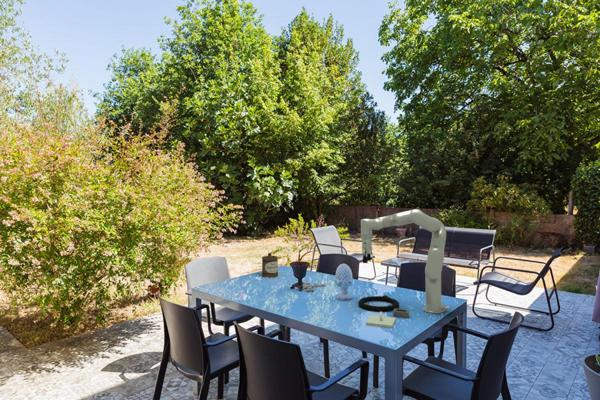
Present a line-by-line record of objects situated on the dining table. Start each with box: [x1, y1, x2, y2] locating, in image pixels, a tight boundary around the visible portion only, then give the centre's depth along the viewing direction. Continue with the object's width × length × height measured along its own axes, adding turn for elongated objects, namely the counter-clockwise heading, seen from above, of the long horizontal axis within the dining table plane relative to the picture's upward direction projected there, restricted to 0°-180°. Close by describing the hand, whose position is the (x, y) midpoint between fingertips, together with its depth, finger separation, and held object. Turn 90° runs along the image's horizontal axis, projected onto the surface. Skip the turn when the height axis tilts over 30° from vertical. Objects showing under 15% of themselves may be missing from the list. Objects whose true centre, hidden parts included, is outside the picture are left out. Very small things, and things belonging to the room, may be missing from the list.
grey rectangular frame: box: [392, 308, 410, 319], centre depth 232 cm, size 9×6×4 cm, turn 68°
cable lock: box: [357, 294, 400, 313], centre depth 255 cm, size 28×4×30 cm
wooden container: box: [261, 252, 279, 279], centre depth 353 cm, size 15×15×22 cm
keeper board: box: [365, 312, 397, 329], centre depth 221 cm, size 15×14×6 cm
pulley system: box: [302, 282, 327, 293], centre depth 306 cm, size 27×5×15 cm
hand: (366, 261), depth 256 cm, fingers open, 9 cm apart
